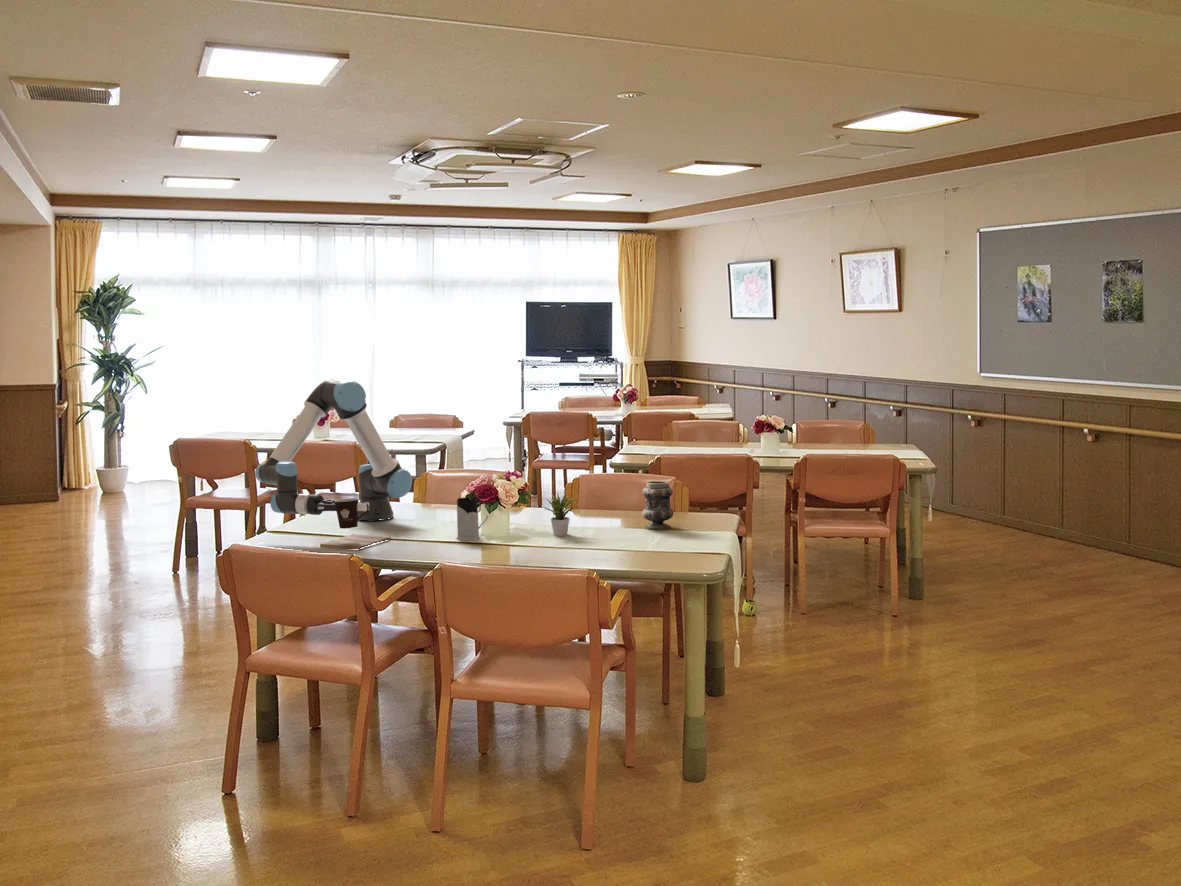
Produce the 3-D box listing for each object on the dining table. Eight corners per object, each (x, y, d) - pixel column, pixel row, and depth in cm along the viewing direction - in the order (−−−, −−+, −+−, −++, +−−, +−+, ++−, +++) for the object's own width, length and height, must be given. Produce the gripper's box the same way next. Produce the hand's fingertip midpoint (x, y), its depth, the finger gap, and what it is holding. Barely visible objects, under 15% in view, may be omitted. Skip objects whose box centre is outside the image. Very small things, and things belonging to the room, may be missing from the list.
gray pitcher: (452, 538, 417) (451, 498, 415) (484, 533, 425) (483, 494, 424) (464, 541, 410) (462, 501, 408) (496, 536, 418) (495, 497, 417)
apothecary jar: (673, 524, 435) (673, 479, 433) (673, 530, 424) (672, 484, 422) (643, 524, 437) (642, 479, 435) (641, 530, 425) (640, 484, 423)
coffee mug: (331, 528, 406) (329, 501, 406) (347, 524, 414) (345, 498, 413) (356, 529, 401) (354, 502, 400) (371, 525, 409) (369, 498, 408)
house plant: (575, 539, 411) (574, 496, 409) (538, 538, 413) (537, 495, 412) (582, 531, 425) (582, 489, 423) (547, 531, 427) (546, 489, 425)
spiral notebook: (353, 536, 423) (353, 533, 423) (390, 539, 416) (390, 536, 416) (320, 547, 405) (320, 543, 405) (358, 550, 398) (358, 547, 398)
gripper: (321, 511, 421) (376, 513, 414) (300, 517, 407) (358, 520, 400) (320, 491, 420) (376, 493, 413) (299, 497, 407) (357, 499, 400)
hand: (367, 506), depth 407 cm, fingers closed on coffee mug
